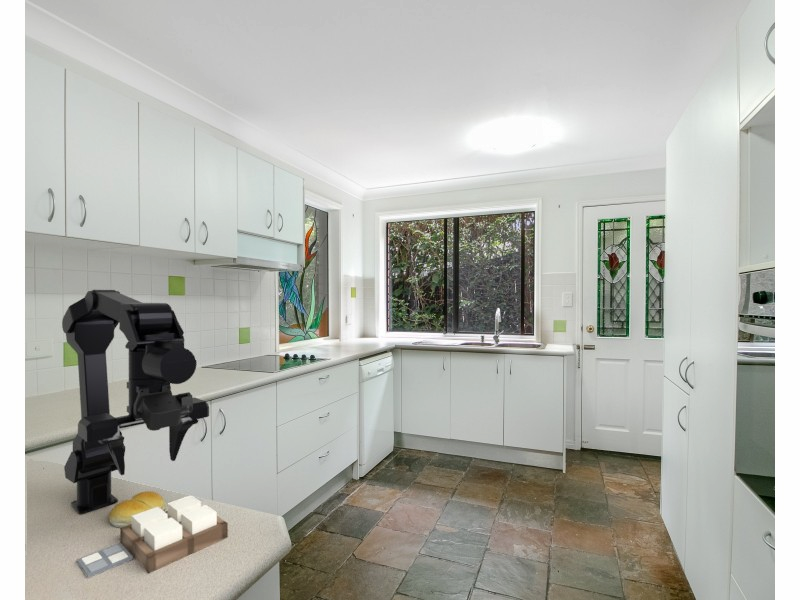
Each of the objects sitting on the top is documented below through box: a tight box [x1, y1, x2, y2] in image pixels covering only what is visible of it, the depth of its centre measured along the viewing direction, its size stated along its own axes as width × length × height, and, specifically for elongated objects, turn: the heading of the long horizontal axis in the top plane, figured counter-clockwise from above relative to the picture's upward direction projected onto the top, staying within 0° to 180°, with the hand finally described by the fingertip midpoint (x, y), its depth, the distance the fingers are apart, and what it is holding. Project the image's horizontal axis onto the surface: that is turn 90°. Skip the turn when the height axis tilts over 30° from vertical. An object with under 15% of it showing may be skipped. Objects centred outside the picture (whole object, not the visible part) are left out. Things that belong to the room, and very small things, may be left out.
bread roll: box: [109, 490, 167, 528], centre depth 82 cm, size 8×9×4 cm
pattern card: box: [76, 542, 134, 579], centre depth 68 cm, size 6×6×1 cm
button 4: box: [181, 504, 218, 535], centre depth 74 cm, size 4×4×3 cm
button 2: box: [144, 517, 182, 551], centre depth 70 cm, size 4×4×3 cm
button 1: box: [132, 507, 168, 538], centre depth 73 cm, size 4×4×3 cm
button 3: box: [166, 495, 202, 522], centre depth 78 cm, size 4×4×3 cm
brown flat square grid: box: [119, 504, 229, 574], centre depth 74 cm, size 13×13×2 cm
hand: (148, 467), depth 73 cm, fingers open, 8 cm apart
